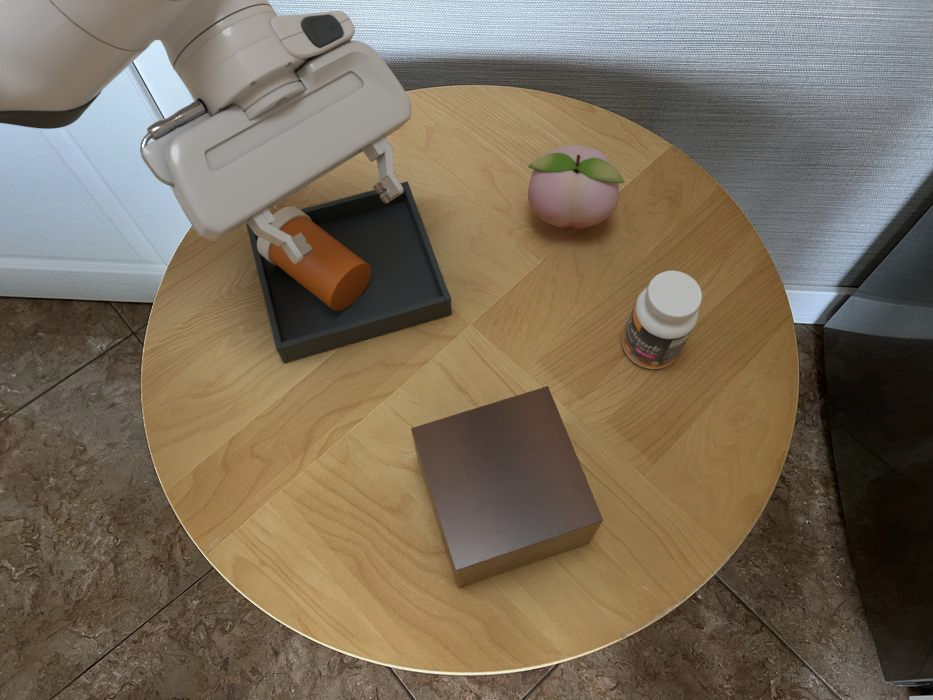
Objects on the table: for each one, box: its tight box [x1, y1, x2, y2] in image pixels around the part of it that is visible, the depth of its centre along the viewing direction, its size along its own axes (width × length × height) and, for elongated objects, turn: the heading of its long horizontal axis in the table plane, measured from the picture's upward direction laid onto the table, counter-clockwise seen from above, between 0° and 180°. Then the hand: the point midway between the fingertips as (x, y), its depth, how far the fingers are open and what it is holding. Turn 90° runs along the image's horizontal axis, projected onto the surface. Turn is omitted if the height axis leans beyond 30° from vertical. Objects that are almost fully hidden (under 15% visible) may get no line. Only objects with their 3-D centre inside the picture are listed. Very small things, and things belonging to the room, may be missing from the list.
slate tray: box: [245, 180, 453, 364], centre depth 76 cm, size 17×15×3 cm
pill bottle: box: [621, 270, 703, 370], centre depth 69 cm, size 6×6×10 cm
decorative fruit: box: [527, 144, 625, 229], centre depth 76 cm, size 9×8×10 cm
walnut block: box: [410, 385, 604, 589], centre depth 63 cm, size 12×12×8 cm
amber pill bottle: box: [257, 205, 371, 311], centre depth 75 cm, size 6×6×10 cm
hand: (351, 227), depth 61 cm, fingers open, 8 cm apart
